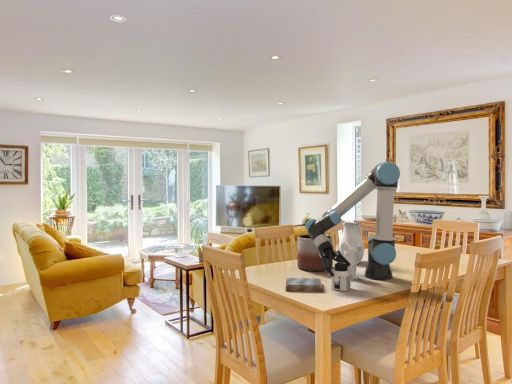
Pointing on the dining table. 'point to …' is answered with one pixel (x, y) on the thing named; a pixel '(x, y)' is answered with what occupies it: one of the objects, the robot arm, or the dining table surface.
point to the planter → (309, 254)
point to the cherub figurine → (351, 255)
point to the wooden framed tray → (303, 284)
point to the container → (341, 277)
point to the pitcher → (352, 237)
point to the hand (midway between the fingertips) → (345, 280)
